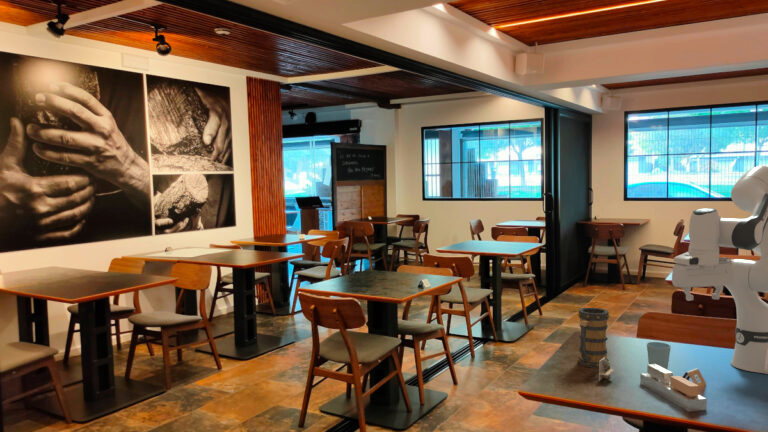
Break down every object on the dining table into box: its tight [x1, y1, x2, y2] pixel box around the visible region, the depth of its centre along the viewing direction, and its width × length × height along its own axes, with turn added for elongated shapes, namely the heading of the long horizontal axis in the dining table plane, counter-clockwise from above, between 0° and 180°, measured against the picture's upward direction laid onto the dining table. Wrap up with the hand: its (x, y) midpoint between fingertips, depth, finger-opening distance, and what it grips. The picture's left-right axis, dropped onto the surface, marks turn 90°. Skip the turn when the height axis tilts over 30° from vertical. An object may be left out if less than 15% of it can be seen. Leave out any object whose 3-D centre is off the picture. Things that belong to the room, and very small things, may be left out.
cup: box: [646, 341, 672, 370], centre depth 205 cm, size 8×8×10 cm
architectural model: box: [598, 357, 615, 382], centre depth 199 cm, size 3×7×7 cm, turn 141°
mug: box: [576, 307, 611, 369], centre depth 215 cm, size 13×17×20 cm
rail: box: [639, 363, 707, 413], centre depth 184 cm, size 6×24×7 cm, turn 9°
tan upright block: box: [670, 375, 700, 398], centre depth 178 cm, size 3×9×7 cm, turn 9°
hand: (702, 299), depth 190 cm, fingers open, 8 cm apart
